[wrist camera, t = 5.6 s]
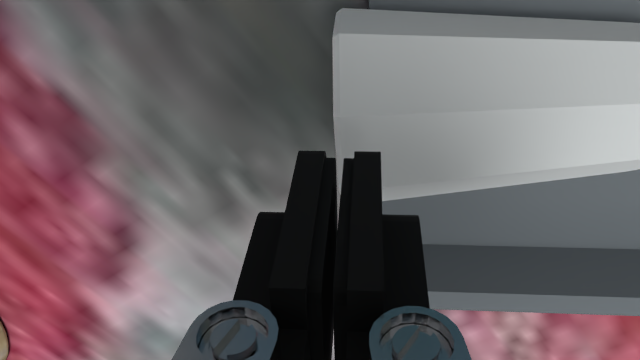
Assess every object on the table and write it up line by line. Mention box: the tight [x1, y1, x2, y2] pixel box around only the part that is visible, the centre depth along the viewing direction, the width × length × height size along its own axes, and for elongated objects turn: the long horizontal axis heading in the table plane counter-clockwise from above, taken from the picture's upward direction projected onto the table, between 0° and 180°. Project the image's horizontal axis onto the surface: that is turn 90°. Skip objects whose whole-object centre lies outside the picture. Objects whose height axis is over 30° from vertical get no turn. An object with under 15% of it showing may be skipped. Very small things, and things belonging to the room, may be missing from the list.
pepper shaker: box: [332, 8, 640, 201], centre depth 15 cm, size 5×5×11 cm
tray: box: [369, 0, 640, 316], centre depth 16 cm, size 14×15×3 cm
